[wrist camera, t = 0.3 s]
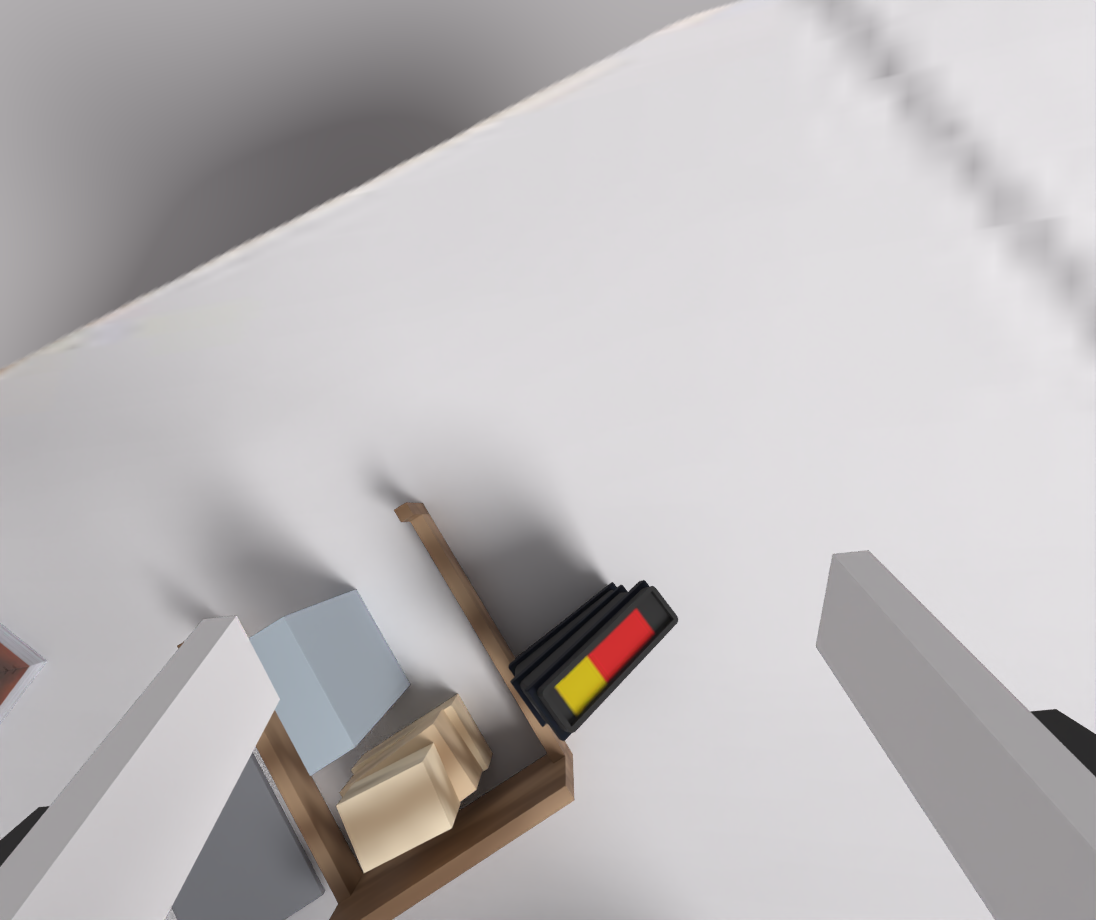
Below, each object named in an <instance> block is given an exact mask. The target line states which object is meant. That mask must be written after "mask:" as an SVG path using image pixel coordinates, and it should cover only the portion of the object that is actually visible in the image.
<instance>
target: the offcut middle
mask: <svg viewBox="0 0 1096 920" xmlns="http://www.w3.org/2000/svg"><path fill="white" fill-rule="evenodd" d="M432 743H434V745H435V747H436V749H437V752H438V754H439V756H440V758H441V761H442V763H443V765H444V767H445V770H446V772H447V774H448V776H449V779H450V781H451V783H452V785H453V788H454V790H455V792H456V795H457V797H458V799H459V801H460V802H461V801H462V800H463V799H465V798H466V797H467V796H469V795H470V794H471V793H473V792H474V791H475V790H477V786H478V783H479V780H480V777H481V774H482V770H483V769H482V768H481V766H480V765H479V763H478V762H477V760H476V759H475V757H474V756H473V754H472V753H471V751H470V750H469V748H468V747H467V745H466V743H465V742H464V740H463V739H462V737H461V736H460V734H459V733H458V731H457V730H456V728H455V727H454V725H453V724H452V722H451V721H450V719H449V718H448V716H447V715H446V713H445V712H444V710H443V709H441V710H440V711H438V712H437V713H436V714H434V715H433V716H432V717H430V718H429V719H428V720H426V721H425V722H423V723H422V724H421V725H419V726H418V727H417V728H415V729H414V730H413V731H411V732H410V733H408V734H407V735H406V736H404V737H403V738H402V739H400V740H399V741H398V742H396V743H395V744H394V745H392V746H391V747H389V748H388V749H387V750H385V751H384V752H383V753H381V754H380V755H379V756H377V757H376V758H375V759H373V760H372V761H370V762H369V763H368V764H366V765H365V766H364V767H362V768H361V769H360V770H358V771H357V772H356V773H355V774H354V775H353V776H352V777H351V779H350V780H349V781H348V783H347V784H346V785H345V786H344V788H343V789H342V790H341V791H340V794H341V796H342V797H343V796H344V795H345V794H346V792H347V791H348V790H349V788H350V787H351V786H352V785H353V783H355V782H357V781H359V780H361V779H363V778H365V777H367V776H369V775H371V774H373V773H375V772H377V771H379V770H381V769H383V768H385V767H387V766H389V765H391V764H392V763H394V762H396V761H398V760H400V759H402V758H404V757H406V756H408V755H410V754H412V753H414V752H416V751H418V750H420V749H422V748H424V747H426V746H428V745H430V744H432Z"/></svg>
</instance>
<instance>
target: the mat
mask: <svg viewBox="0 0 1096 920" xmlns="http://www.w3.org/2000/svg"><path fill="white" fill-rule="evenodd" d="M324 892H325V890H324V888H323V886H322V884H321V882H320V880H319V879H318V877H317V875H316V873H315V871H314V869H313V867H312V865H311V863H310V861H309V859H308V858H307V856H306V854H305V852H304V850H303V848H302V846H301V844H300V842H299V840H298V838H297V836H296V835H295V833H294V831H293V829H292V827H291V825H290V823H289V821H288V819H287V817H286V815H285V814H284V812H283V810H282V808H281V806H280V804H279V802H278V800H277V798H276V796H275V794H274V792H273V791H272V789H271V787H270V785H269V783H268V781H267V779H266V777H265V775H264V773H263V771H262V770H261V768H260V766H259V764H258V762H257V760H256V758H255V756H254V754H253V752H252V754H251V756H250V758H249V760H248V762H247V763H246V765H245V767H244V769H243V771H242V773H241V775H240V777H239V779H238V781H237V783H236V785H235V786H234V788H233V790H232V792H231V794H230V796H229V798H228V800H227V802H226V804H225V806H224V807H223V809H222V811H221V813H220V815H219V817H218V819H217V821H216V823H215V825H214V827H213V828H212V830H211V832H210V834H209V836H208V838H207V840H206V842H205V844H204V846H203V848H202V850H201V851H200V853H199V855H198V857H197V859H196V861H195V863H194V865H193V867H192V869H191V871H190V872H189V874H188V876H187V878H186V880H185V882H184V884H183V886H182V888H181V890H180V892H179V894H178V895H177V897H176V899H175V901H174V903H173V905H172V909H173V911H174V913H175V916H176V918H177V920H285V919H286V918H288V917H289V916H291V915H292V914H294V913H295V912H297V911H298V910H300V909H302V908H303V907H305V906H306V905H308V904H309V903H311V902H312V901H314V900H315V899H317V898H318V897H320V896H322V895H323V894H324Z"/></svg>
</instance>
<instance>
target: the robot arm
mask: <svg viewBox="0 0 1096 920" xmlns="http://www.w3.org/2000/svg"><path fill="white" fill-rule="evenodd" d="M816 648H817V649H818V651H819V652H820V654H821V655H822V657H823V658H824V660H825V661H826V663H827V665H828V666H829V668H830V669H831V671H832V672H833V674H834V675H835V677H836V678H837V680H838V681H839V683H840V684H841V686H842V687H843V689H844V690H845V692H846V693H847V695H848V697H849V698H850V700H851V701H852V703H853V704H854V706H855V707H856V709H857V710H858V712H859V713H860V715H861V716H862V718H863V719H864V721H865V722H866V724H867V725H868V727H869V729H870V730H871V732H872V733H873V735H874V736H875V738H876V739H877V741H878V742H879V744H880V745H881V747H882V748H883V750H884V751H885V753H886V754H887V756H888V757H889V759H890V761H891V762H892V764H893V765H894V767H895V768H896V770H897V771H898V773H899V774H900V776H901V777H902V779H903V780H904V782H905V783H906V785H907V786H908V788H909V789H910V791H911V793H912V794H913V796H914V797H915V799H916V800H917V802H918V803H919V805H920V806H921V808H922V809H923V811H924V812H925V814H926V815H927V817H928V818H929V820H930V821H931V823H932V825H933V826H934V828H935V829H936V831H937V832H938V834H939V835H940V837H941V838H942V840H943V841H944V843H945V844H946V846H947V847H948V849H949V850H950V852H951V854H952V855H953V857H954V858H955V860H956V861H957V863H958V864H959V866H960V867H961V869H962V870H963V872H964V873H965V875H966V876H967V878H968V879H969V881H970V882H971V884H972V886H973V887H974V889H975V890H976V892H977V893H978V895H979V896H980V898H981V899H982V901H983V902H984V904H985V905H986V907H987V908H988V910H989V911H990V913H991V914H992V916H993V918H994V919H995V920H1096V734H1095V733H1093V732H1091V731H1090V730H1088V729H1087V728H1085V727H1083V726H1082V725H1080V724H1079V723H1077V722H1076V721H1074V720H1072V719H1071V718H1069V717H1068V716H1066V715H1064V714H1063V713H1061V712H1060V711H1058V710H1057V709H1053V710H1042V711H1032V712H1030V711H1029V710H1028V709H1027V708H1026V707H1025V706H1024V705H1023V704H1022V703H1021V702H1020V701H1019V700H1018V699H1017V698H1016V697H1015V696H1014V695H1013V694H1012V693H1011V692H1010V691H1009V690H1008V689H1007V688H1006V687H1005V686H1004V685H1003V684H1002V683H1001V682H1000V681H999V680H998V679H997V678H996V677H995V676H994V675H993V674H992V673H991V672H990V671H989V670H988V669H987V668H986V667H985V666H984V665H983V664H982V663H981V662H980V661H979V660H978V659H977V658H976V657H975V656H974V655H973V654H972V653H971V652H970V651H969V650H968V649H967V648H966V647H965V646H964V645H963V644H962V643H961V642H960V641H959V640H958V639H957V638H956V637H955V636H954V635H953V634H952V633H951V632H950V631H949V630H948V629H947V628H946V627H945V626H944V625H943V624H942V623H941V622H940V621H939V620H938V619H937V618H936V617H935V616H934V615H933V614H932V613H931V612H930V611H929V610H928V609H927V608H926V607H925V606H924V605H923V604H922V603H921V602H920V601H919V600H918V599H917V598H916V597H915V596H914V595H913V594H912V593H911V592H910V591H909V590H908V589H907V588H906V587H905V586H904V585H903V584H902V583H901V582H900V581H899V580H898V579H897V578H896V577H895V576H894V575H893V574H892V573H891V572H890V571H889V570H888V569H887V568H886V567H885V566H884V565H883V564H882V563H881V562H880V561H879V560H878V559H877V558H876V557H875V556H874V555H873V554H872V553H871V552H870V551H869V550H867V551H858V552H848V553H838V554H833V555H832V560H831V566H830V571H829V576H828V582H827V587H826V593H825V598H824V603H823V609H822V614H821V620H820V625H819V631H818V636H817V641H816ZM279 700H280V698H279V696H278V694H277V693H276V691H275V689H274V687H273V685H272V683H271V681H270V679H269V677H268V675H267V673H266V671H265V669H264V667H263V665H262V663H261V662H260V660H259V658H258V656H257V654H256V652H255V650H254V648H253V646H252V644H251V642H250V640H249V638H248V636H247V634H246V632H245V631H244V629H243V627H242V625H241V623H240V621H239V619H238V617H237V616H227V617H218V618H208V619H203V620H202V621H201V622H200V623H199V625H198V626H197V627H196V628H195V629H194V631H193V632H192V633H191V634H190V636H189V637H188V638H187V639H186V640H185V642H184V643H183V644H182V645H181V647H180V648H179V649H178V650H177V651H176V653H175V654H174V655H173V656H172V658H171V659H170V660H169V661H168V662H167V664H166V665H165V666H164V667H163V669H162V670H161V671H160V672H159V673H158V675H157V676H156V677H155V678H154V680H153V681H152V682H151V683H150V684H149V686H148V687H147V688H146V689H145V691H144V692H143V693H142V694H141V695H140V697H139V698H138V699H137V700H136V702H135V703H134V704H133V705H132V706H131V708H130V709H129V710H128V711H127V713H126V714H125V715H124V716H123V717H122V719H121V720H120V721H119V722H118V724H117V725H116V726H115V727H114V728H113V730H112V731H111V732H110V733H109V735H108V736H107V737H106V738H105V739H104V741H103V742H102V743H101V744H100V746H99V747H98V748H97V749H96V750H95V752H94V753H93V754H92V755H91V757H90V758H89V759H88V760H87V761H86V763H85V764H84V765H83V766H82V768H81V769H80V770H79V771H78V772H77V774H76V775H75V776H74V777H73V779H72V780H71V781H70V782H69V783H68V785H67V786H66V787H65V788H64V790H63V791H62V792H61V793H60V794H59V796H58V797H57V798H56V799H55V801H54V802H53V803H52V804H51V805H50V806H47V807H38V808H37V809H36V810H35V811H34V812H33V813H32V814H30V815H29V816H28V817H27V818H26V819H25V820H23V821H22V822H21V823H20V824H19V825H18V826H16V827H15V828H14V829H13V830H12V831H11V832H10V833H8V834H7V835H6V836H5V837H4V838H3V839H1V840H0V920H165V918H166V916H167V915H168V913H169V911H170V909H171V907H172V905H173V903H174V901H175V899H176V897H177V895H178V894H179V892H180V890H181V888H182V886H183V884H184V882H185V880H186V878H187V876H188V874H189V872H190V871H191V869H192V867H193V865H194V863H195V861H196V859H197V857H198V855H199V853H200V851H201V850H202V848H203V846H204V844H205V842H206V840H207V838H208V836H209V834H210V832H211V830H212V828H213V827H214V825H215V823H216V821H217V819H218V817H219V815H220V813H221V811H222V809H223V807H224V806H225V804H226V802H227V800H228V798H229V796H230V794H231V792H232V790H233V788H234V786H235V785H236V783H237V781H238V779H239V777H240V775H241V773H242V771H243V769H244V767H245V765H246V763H247V762H248V760H249V758H250V756H251V754H252V752H253V750H254V748H255V746H256V744H257V742H258V741H259V739H260V737H261V735H262V733H263V731H264V729H265V727H266V725H267V723H268V721H269V719H270V718H271V716H272V714H273V712H274V710H275V708H276V706H277V704H278V702H279Z"/></svg>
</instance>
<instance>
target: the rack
mask: <svg viewBox="0 0 1096 920" xmlns="http://www.w3.org/2000/svg"><path fill="white" fill-rule="evenodd" d="M394 511H395V513H396V515H397V516H398V518H399V520H400V521H401V522H411V524H412V525H413V527H414V529H415V530H416V532H417V534H418V536H419V537H420V539H421V541H422V542H423V544H424V546H425V547H426V549H427V551H428V552H429V554H430V556H431V558H432V559H433V561H434V563H435V564H436V566H437V568H438V569H439V571H440V573H441V574H442V576H443V578H444V580H445V581H446V583H447V585H448V586H449V588H450V590H451V591H452V593H453V595H454V596H455V598H456V600H457V602H458V603H459V605H460V607H461V608H462V610H463V612H464V613H465V615H466V617H467V618H468V620H469V622H470V624H471V625H472V627H473V629H474V630H475V632H476V634H477V635H478V637H479V639H480V640H481V642H482V644H483V646H484V647H485V649H486V651H487V652H488V654H489V656H490V657H491V659H492V661H493V662H494V664H495V666H496V668H497V669H498V671H499V673H500V674H501V676H502V678H503V679H504V681H505V683H506V684H507V686H508V688H509V690H510V691H511V693H512V695H513V696H514V698H515V700H516V701H517V703H518V705H519V706H520V708H521V710H522V712H523V713H524V715H525V717H526V718H527V720H528V722H529V723H530V725H531V727H532V728H533V730H534V732H535V734H536V735H537V737H538V739H539V740H540V742H541V744H542V745H543V747H544V749H545V750H546V752H547V754H546V755H545V756H543V757H542V758H540V759H538V760H537V761H535V762H534V763H532V764H531V765H529V766H528V767H526V768H525V769H523V770H522V771H520V772H518V773H517V774H515V775H514V776H512V777H511V778H509V779H508V780H506V781H505V782H503V783H502V784H500V785H498V786H497V787H495V788H494V789H492V790H491V791H489V792H488V793H486V794H485V795H483V796H482V797H480V798H478V799H477V800H475V801H474V802H472V803H471V804H469V805H468V806H466V807H465V808H463V809H462V810H460V811H458V812H457V815H456V818H455V821H454V824H453V826H452V828H451V829H449V830H447V831H446V832H444V833H442V834H440V835H438V836H436V837H434V838H432V839H430V840H428V841H426V842H424V843H422V844H420V845H418V846H416V847H414V848H412V849H410V850H408V851H406V852H404V853H403V854H401V855H399V856H397V857H395V858H393V859H391V860H389V861H387V862H385V863H383V864H381V865H379V866H377V867H375V868H373V869H371V870H369V871H367V872H365V873H363V872H362V871H361V869H360V867H359V865H358V863H357V861H356V859H355V857H354V856H353V854H352V852H351V850H350V848H349V846H348V844H347V842H346V841H345V839H344V837H343V835H342V833H341V831H340V829H339V827H338V826H337V824H336V822H335V820H334V818H333V816H332V814H331V812H330V811H329V809H328V807H327V805H326V803H325V801H324V799H323V797H322V796H321V794H320V792H319V790H318V788H317V786H316V784H315V782H314V781H313V779H312V777H311V776H310V775H309V773H308V771H307V769H306V768H305V766H304V764H303V762H302V760H301V758H300V756H299V754H298V753H297V751H296V749H295V747H294V745H293V743H292V741H291V739H290V738H289V736H288V734H287V732H286V730H285V728H284V726H283V724H282V722H281V721H280V719H279V717H278V715H277V713H276V711H275V710H274V712H273V714H272V716H271V718H270V719H269V721H268V723H267V725H266V727H265V729H264V731H263V733H262V735H261V737H260V739H259V741H258V742H257V744H256V747H257V749H258V751H259V753H260V755H261V757H262V759H263V761H264V763H265V765H266V767H267V768H268V770H269V772H270V774H271V776H272V778H273V780H274V782H275V784H276V786H277V787H278V789H279V791H280V793H281V795H282V797H283V799H284V801H285V803H286V805H287V807H288V808H289V810H290V812H291V814H292V816H293V818H294V820H295V822H296V824H297V826H298V828H299V829H300V831H301V833H302V835H303V837H304V839H305V841H306V843H307V845H308V847H309V849H310V850H311V852H312V854H313V856H314V858H315V860H316V862H317V864H318V866H319V868H320V870H321V871H322V873H323V875H324V877H325V879H326V881H327V883H328V885H329V887H330V889H331V891H332V892H333V894H334V896H335V898H336V900H337V902H338V905H337V907H336V909H335V911H334V912H333V914H332V916H331V918H330V919H329V920H392V919H394V918H395V917H397V916H398V915H400V914H401V913H403V912H404V911H406V910H407V909H409V908H410V907H412V906H413V905H415V904H416V903H418V902H420V901H421V900H423V899H424V898H426V897H427V896H429V895H430V894H432V893H433V892H435V891H436V890H438V889H439V888H441V887H442V886H444V885H446V884H447V883H449V882H450V881H452V880H453V879H455V878H456V877H458V876H459V875H461V874H462V873H464V872H465V871H467V870H468V869H470V868H471V867H473V866H475V865H476V864H478V863H479V862H481V861H482V860H484V859H485V858H487V857H488V856H490V855H491V854H493V853H494V852H496V851H497V850H499V849H500V848H502V847H504V846H505V845H507V844H508V843H510V842H511V841H513V840H514V839H516V838H517V837H519V836H520V835H522V834H523V833H525V832H526V831H528V830H530V829H531V828H533V827H534V826H536V825H537V824H539V823H540V822H542V821H543V820H545V819H546V818H548V817H549V816H551V815H552V814H554V813H555V812H557V811H559V810H560V809H562V808H563V807H565V806H566V805H568V804H569V803H571V802H572V801H574V778H573V754H572V752H571V751H570V749H569V747H568V746H567V744H566V742H565V741H561V740H559V739H558V737H557V736H556V734H555V733H554V732H553V730H552V729H551V727H550V726H549V725H548V724H546V725H545V726H544V727H542V726H541V725H540V724H539V722H538V721H537V719H536V718H535V716H534V715H533V714H532V712H531V711H530V709H529V708H528V707H527V705H526V704H525V702H524V701H523V700H522V698H521V697H520V695H519V694H518V692H517V691H516V690H515V688H514V687H513V685H512V684H511V683H510V681H511V680H512V679H513V678H514V675H513V674H512V672H511V671H510V670H509V668H508V667H509V664H510V663H511V662H512V661H513V660H515V657H514V655H513V653H512V652H511V650H510V648H509V647H508V645H507V643H506V642H505V640H504V638H503V637H502V635H501V633H500V632H499V630H498V628H497V627H496V625H495V623H494V622H493V620H492V618H491V617H490V615H489V613H488V612H487V610H486V608H485V607H484V605H483V603H482V602H481V600H480V598H479V597H478V595H477V593H476V591H475V590H474V588H473V586H472V585H471V583H470V581H469V580H468V578H467V576H466V575H465V573H464V571H463V570H462V568H461V566H460V565H459V563H458V561H457V560H456V558H455V556H454V555H453V553H452V551H451V550H450V548H449V546H448V545H447V543H446V541H445V540H444V538H443V536H442V535H441V533H440V531H439V529H438V528H437V526H436V524H435V523H434V521H433V519H432V518H431V516H430V514H429V513H428V511H427V509H426V508H425V506H424V504H423V503H408V502H406V503H404V504H403V505H401V506H399V507H398V508H396V509H395V510H394ZM184 642H185V641H184ZM184 642H183V643H184ZM183 643H181V644H179V645H178V646H177V647H178V649H179V648H180V647H181V645H182V644H183Z"/></svg>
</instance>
